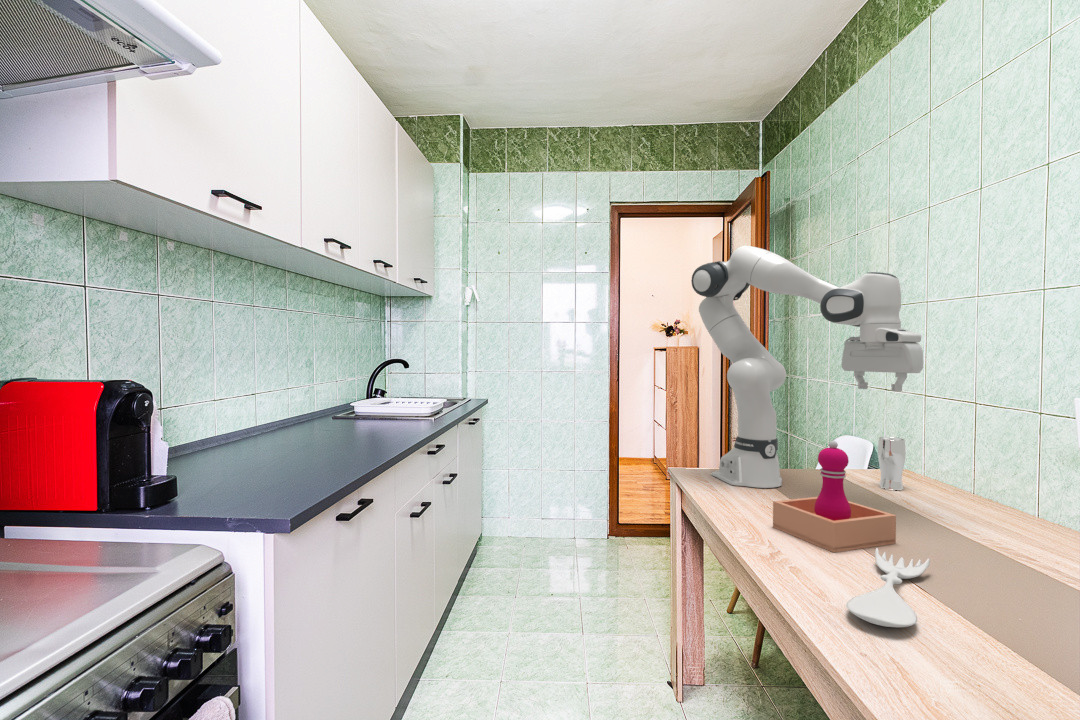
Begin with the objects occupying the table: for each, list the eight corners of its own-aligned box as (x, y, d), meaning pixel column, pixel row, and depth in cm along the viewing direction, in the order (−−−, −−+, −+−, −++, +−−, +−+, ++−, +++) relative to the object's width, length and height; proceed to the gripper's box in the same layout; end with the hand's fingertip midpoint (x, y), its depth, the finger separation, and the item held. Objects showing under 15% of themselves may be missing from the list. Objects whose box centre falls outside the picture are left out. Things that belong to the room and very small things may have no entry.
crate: (772, 527, 126) (773, 501, 126) (829, 520, 132) (829, 495, 132) (833, 552, 110) (834, 523, 110) (895, 543, 116) (896, 515, 115)
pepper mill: (841, 525, 124) (842, 438, 124) (857, 536, 117) (858, 443, 117) (808, 524, 125) (809, 437, 124) (822, 535, 118) (823, 443, 117)
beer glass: (872, 487, 165) (872, 437, 165) (886, 484, 168) (887, 436, 168) (895, 492, 158) (896, 441, 158) (910, 489, 161) (910, 439, 161)
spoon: (931, 574, 100) (931, 556, 100) (913, 646, 75) (913, 622, 75) (874, 562, 106) (874, 545, 106) (839, 625, 81) (840, 602, 81)
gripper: (836, 336, 147) (835, 387, 147) (908, 334, 128) (908, 393, 128) (853, 337, 149) (853, 387, 149) (928, 334, 130) (927, 392, 130)
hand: (879, 390), depth 138 cm, fingers open, 8 cm apart
